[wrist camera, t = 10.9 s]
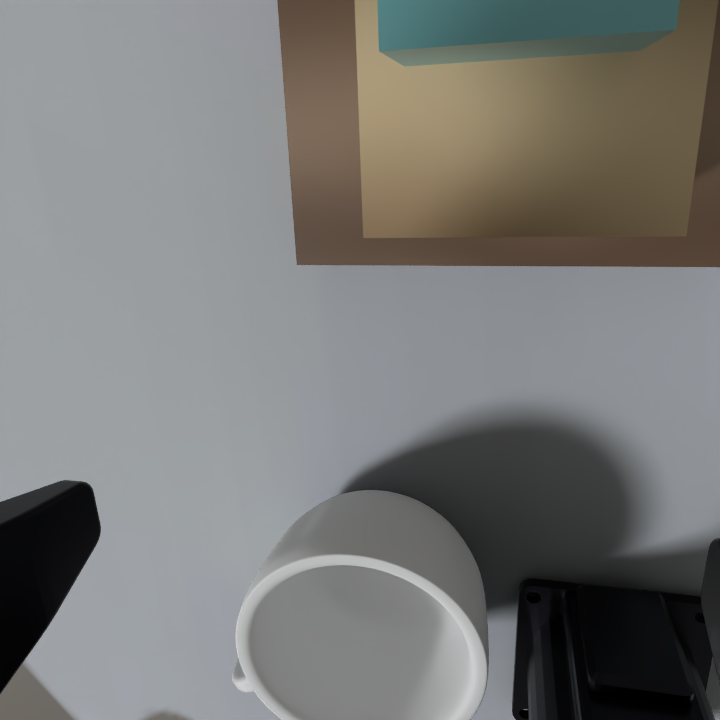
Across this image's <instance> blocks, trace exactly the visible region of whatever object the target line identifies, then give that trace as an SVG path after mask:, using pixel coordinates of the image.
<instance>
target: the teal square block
mask: <svg viewBox="0 0 720 720" xmlns="http://www.w3.org/2000/svg"><path fill="white" fill-rule="evenodd" d="M679 2H680V0H377V3H378V39H379V52H381V53H383V54H384V55H386V56H388V57H389V58H391V59H393V60H394V61H396V62H398V63H399V64H401V65H403V66H404V67H405V66H420V65H435V64H451V63H466V62H481V61H496V60H511V59H526V58H541V57H556V56H571V55H586V54H601V53H616V52H631V51H640V50H642V49H644V48H646V47H647V46H649V45H651V44H653V43H654V42H656V41H658V40H659V39H661V38H663V37H665V36H666V35H668V34H670V33H671V32H673V31H675V30H676V28H677V19H678V11H679Z"/></svg>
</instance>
